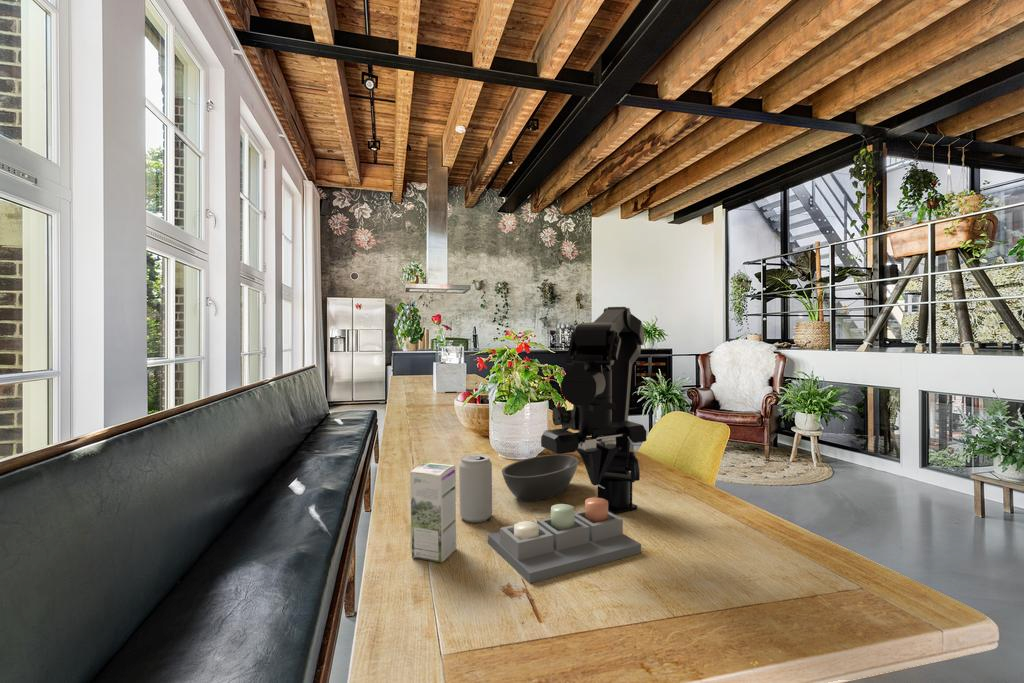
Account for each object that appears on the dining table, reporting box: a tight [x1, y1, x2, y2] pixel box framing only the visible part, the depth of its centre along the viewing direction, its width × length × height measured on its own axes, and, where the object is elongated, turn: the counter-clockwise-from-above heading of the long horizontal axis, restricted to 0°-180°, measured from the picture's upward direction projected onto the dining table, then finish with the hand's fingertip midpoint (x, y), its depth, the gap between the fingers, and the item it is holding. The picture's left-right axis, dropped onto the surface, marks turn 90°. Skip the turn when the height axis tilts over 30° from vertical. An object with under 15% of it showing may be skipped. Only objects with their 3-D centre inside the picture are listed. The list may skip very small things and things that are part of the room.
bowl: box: [501, 454, 580, 502], centre depth 112 cm, size 12×22×6 cm, turn 135°
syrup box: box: [409, 462, 457, 563], centre depth 82 cm, size 6×6×14 cm
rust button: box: [584, 497, 609, 524], centre depth 87 cm, size 4×4×3 cm
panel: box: [487, 509, 642, 584], centre depth 84 cm, size 21×15×4 cm
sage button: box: [550, 503, 576, 531], centre depth 83 cm, size 4×4×3 cm
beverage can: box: [458, 453, 493, 523], centre depth 97 cm, size 6×6×12 cm
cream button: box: [513, 520, 539, 540], centre depth 80 cm, size 4×4×3 cm
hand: (595, 484), depth 86 cm, fingers closed
